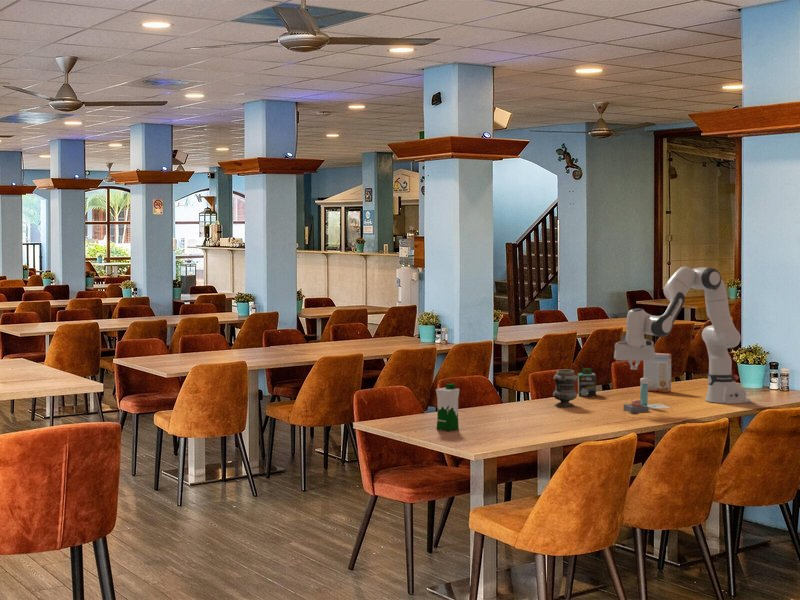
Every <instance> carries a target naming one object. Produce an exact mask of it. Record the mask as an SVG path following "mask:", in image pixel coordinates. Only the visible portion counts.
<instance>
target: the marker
mask: <svg viewBox="0 0 800 600" xmlns="http://www.w3.org/2000/svg"><path fill="white" fill-rule="evenodd" d="M639 383H640V389H639V390H640V395H639V396H640V397H639V400H641V404H643V405H645V406H647V404H649V403H648V402H649V395H648V394H649V391H648V378H643V377H641V378H640V381H639Z"/></svg>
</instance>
